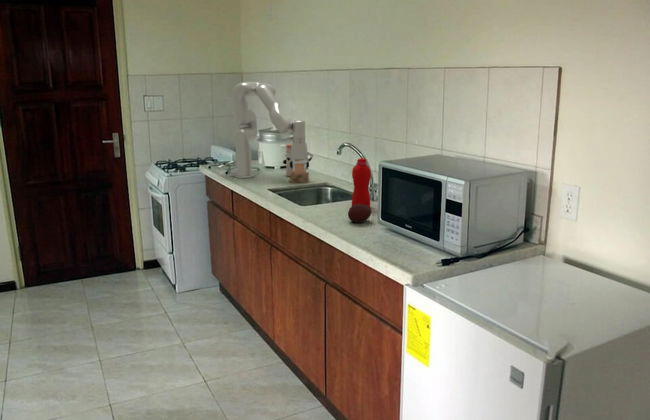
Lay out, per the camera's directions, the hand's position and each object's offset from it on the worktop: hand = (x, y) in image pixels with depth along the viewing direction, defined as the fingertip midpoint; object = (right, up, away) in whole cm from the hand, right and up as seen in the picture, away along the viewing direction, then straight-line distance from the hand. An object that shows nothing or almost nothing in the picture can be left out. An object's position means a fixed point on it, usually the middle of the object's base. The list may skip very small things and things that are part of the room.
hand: (299, 168), depth 326 cm
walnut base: (0, -8, +2) cm, 8 cm away
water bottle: (+33, -25, -61) cm, 73 cm away
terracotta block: (0, -3, +1) cm, 3 cm away
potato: (+31, -31, -85) cm, 96 cm away
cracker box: (-3, -3, +22) cm, 23 cm away
